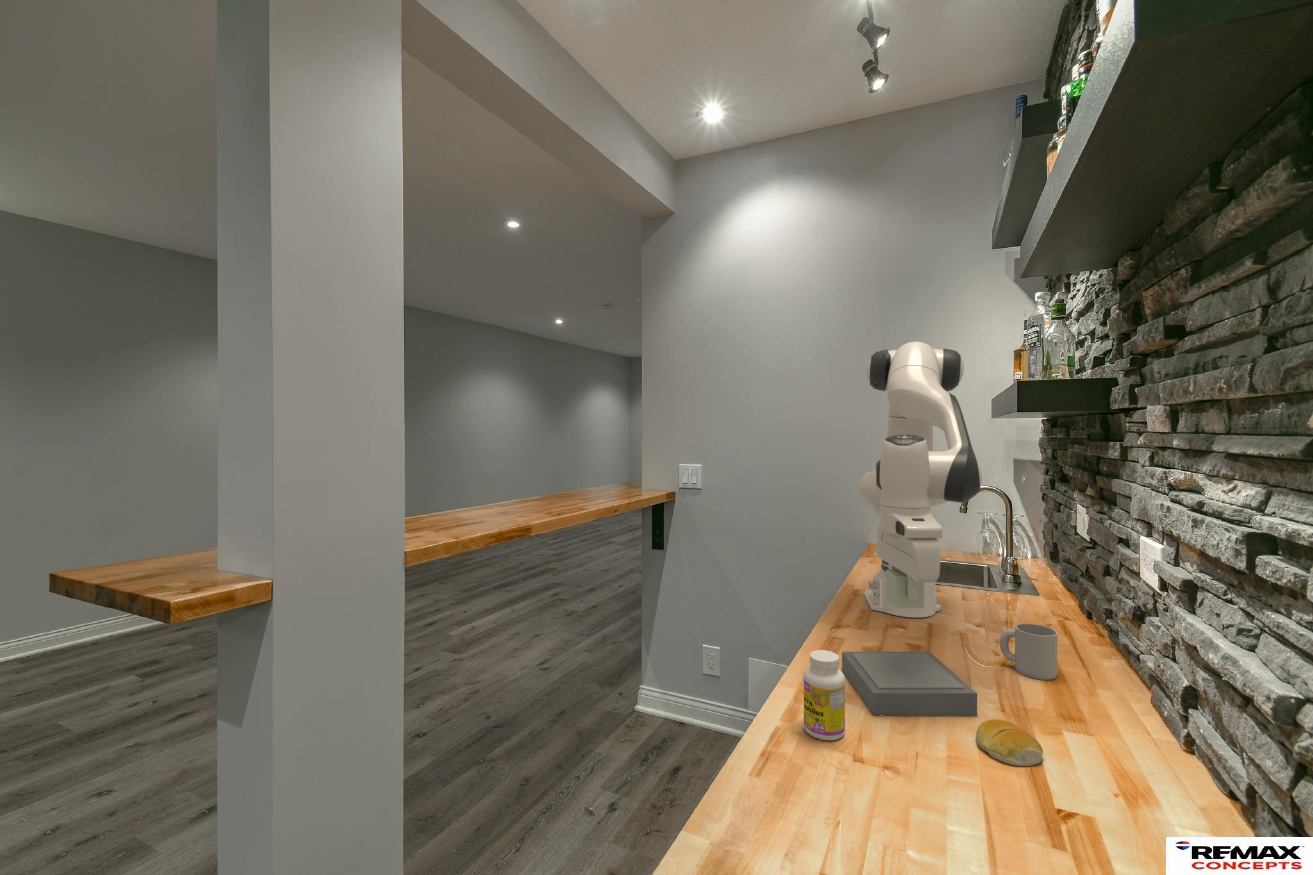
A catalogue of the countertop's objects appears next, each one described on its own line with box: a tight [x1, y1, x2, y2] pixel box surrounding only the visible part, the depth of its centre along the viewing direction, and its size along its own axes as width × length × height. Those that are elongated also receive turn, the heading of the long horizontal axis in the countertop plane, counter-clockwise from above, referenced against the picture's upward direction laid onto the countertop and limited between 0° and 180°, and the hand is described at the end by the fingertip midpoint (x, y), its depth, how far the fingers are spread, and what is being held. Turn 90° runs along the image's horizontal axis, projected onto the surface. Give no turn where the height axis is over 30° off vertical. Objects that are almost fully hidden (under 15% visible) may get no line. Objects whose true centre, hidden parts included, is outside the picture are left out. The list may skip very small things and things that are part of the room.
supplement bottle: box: [803, 649, 846, 742], centre depth 94 cm, size 7×7×13 cm
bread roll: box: [975, 718, 1044, 767], centre depth 89 cm, size 8×9×4 cm
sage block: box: [886, 569, 924, 608], centre depth 108 cm, size 5×5×6 cm
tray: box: [841, 651, 978, 717], centre depth 108 cm, size 18×18×4 cm
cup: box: [999, 622, 1058, 681], centre depth 116 cm, size 7×10×9 cm
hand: (904, 592), depth 108 cm, fingers closed on sage block, 5 cm apart
